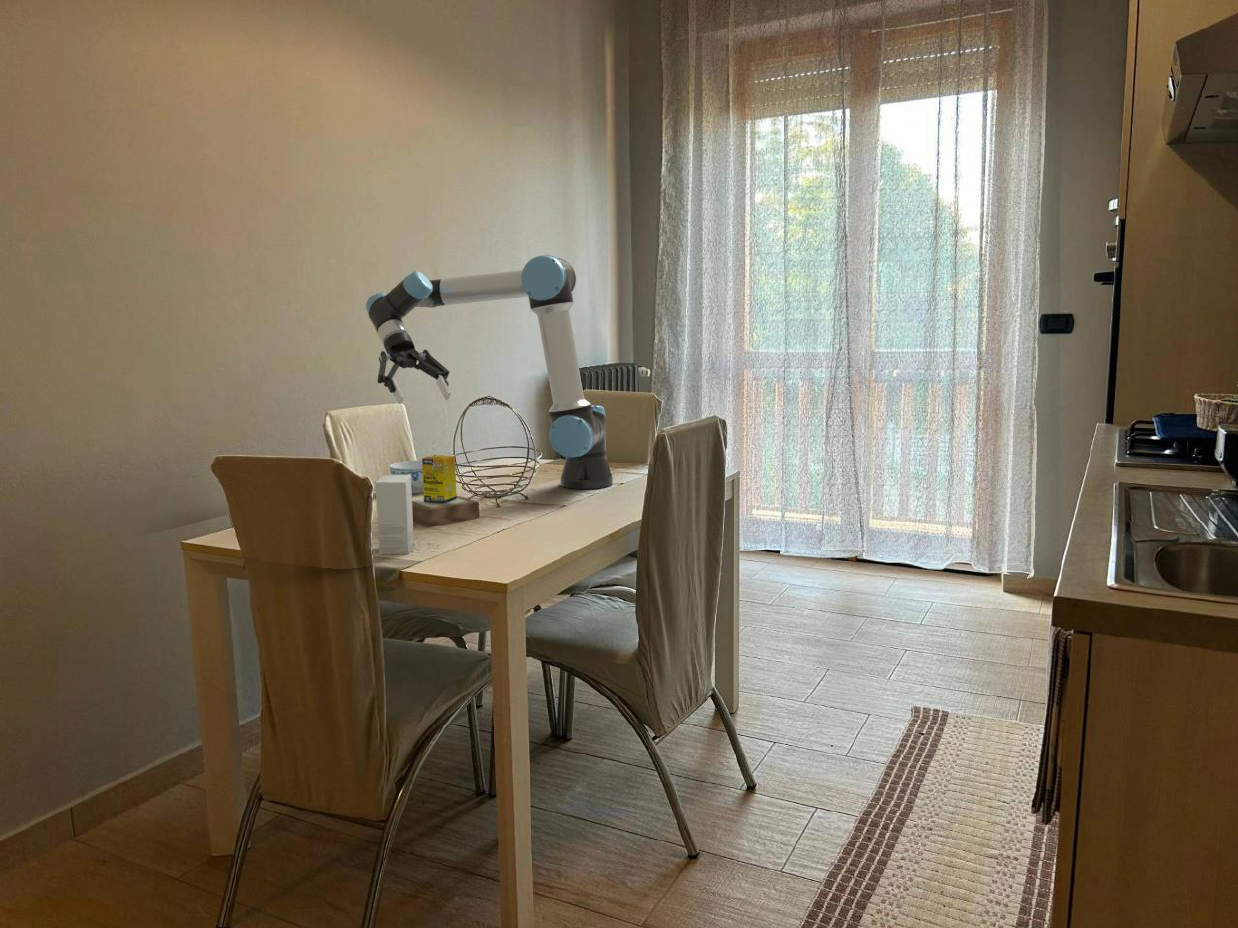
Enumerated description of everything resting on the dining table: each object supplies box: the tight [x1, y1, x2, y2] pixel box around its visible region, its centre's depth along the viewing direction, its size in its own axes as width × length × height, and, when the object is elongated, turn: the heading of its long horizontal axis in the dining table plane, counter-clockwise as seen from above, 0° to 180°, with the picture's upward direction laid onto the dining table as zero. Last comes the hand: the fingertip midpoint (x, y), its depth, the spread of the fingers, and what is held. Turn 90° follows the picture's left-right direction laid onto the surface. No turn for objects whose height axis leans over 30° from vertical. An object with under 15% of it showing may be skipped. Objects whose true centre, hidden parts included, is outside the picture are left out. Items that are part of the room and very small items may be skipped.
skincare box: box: [375, 474, 415, 556], centre depth 194 cm, size 8×7×16 cm
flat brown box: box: [412, 495, 480, 528], centre depth 225 cm, size 14×13×4 cm
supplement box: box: [421, 454, 458, 503], centre depth 224 cm, size 6×6×11 cm
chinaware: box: [388, 459, 424, 494], centre depth 262 cm, size 15×15×8 cm
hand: (425, 398), depth 242 cm, fingers open, 13 cm apart
